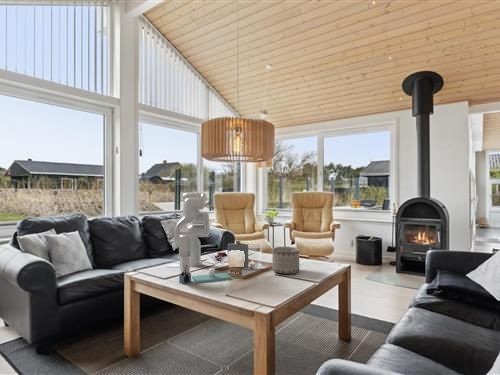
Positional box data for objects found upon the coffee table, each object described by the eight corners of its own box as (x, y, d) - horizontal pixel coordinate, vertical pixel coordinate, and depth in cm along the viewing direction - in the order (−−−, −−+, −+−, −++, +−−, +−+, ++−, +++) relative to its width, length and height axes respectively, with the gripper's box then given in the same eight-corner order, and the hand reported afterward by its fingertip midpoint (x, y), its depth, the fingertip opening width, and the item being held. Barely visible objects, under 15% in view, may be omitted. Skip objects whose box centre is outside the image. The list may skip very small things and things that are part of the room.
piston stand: (192, 278, 218) (192, 268, 218) (226, 274, 227) (226, 265, 227) (196, 283, 207) (196, 273, 207) (231, 279, 216) (231, 269, 216)
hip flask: (227, 267, 247) (227, 241, 247) (228, 265, 251) (228, 240, 251) (247, 267, 245) (247, 241, 245) (248, 266, 249) (248, 240, 249)
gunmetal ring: (178, 280, 212) (178, 273, 212) (189, 279, 215) (189, 272, 215) (180, 284, 205) (180, 276, 205) (191, 282, 208) (191, 275, 208)
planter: (298, 268, 242) (298, 246, 242) (300, 276, 223) (300, 252, 223) (272, 268, 244) (272, 246, 244) (272, 275, 225) (272, 251, 224)
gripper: (177, 251, 217) (177, 277, 217) (181, 256, 200) (181, 284, 201) (188, 250, 219) (188, 275, 219) (193, 255, 203) (193, 283, 203)
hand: (185, 280), depth 210 cm, fingers open, 8 cm apart
